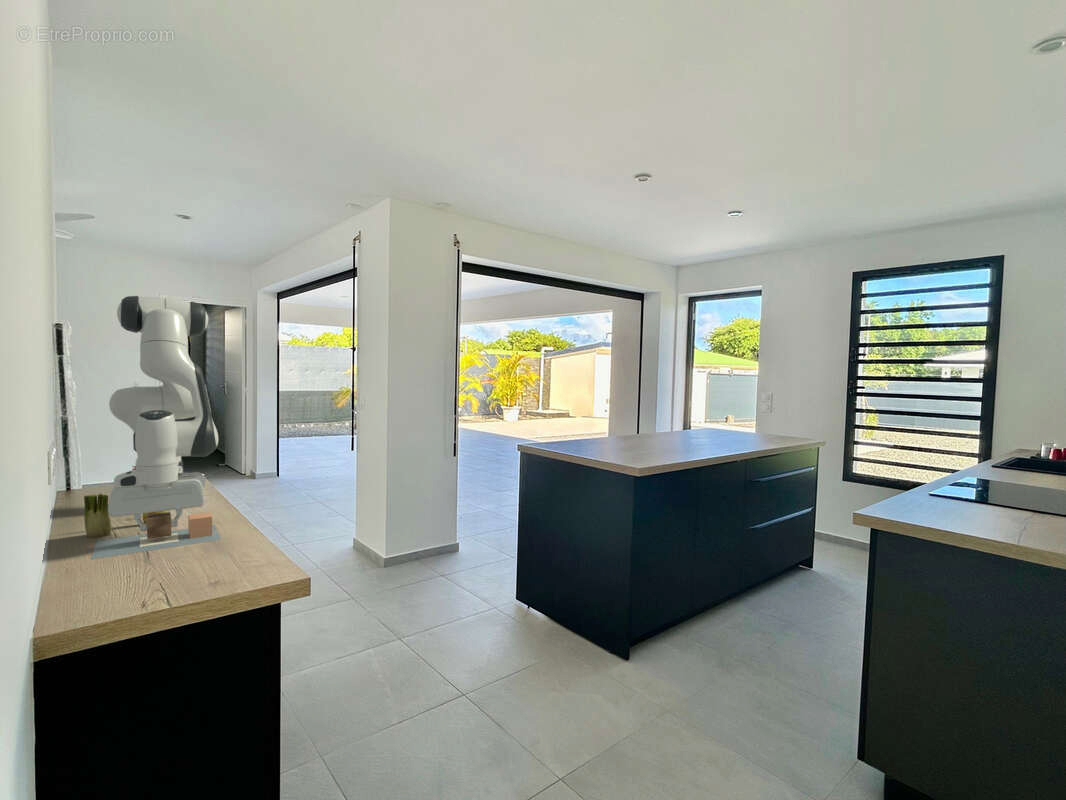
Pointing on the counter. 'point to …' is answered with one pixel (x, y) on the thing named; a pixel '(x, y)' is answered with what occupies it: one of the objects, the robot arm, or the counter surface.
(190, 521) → the terracotta block
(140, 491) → the robot arm
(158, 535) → the walnut block
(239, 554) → the counter surface
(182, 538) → the build board
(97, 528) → the fennel bulb
